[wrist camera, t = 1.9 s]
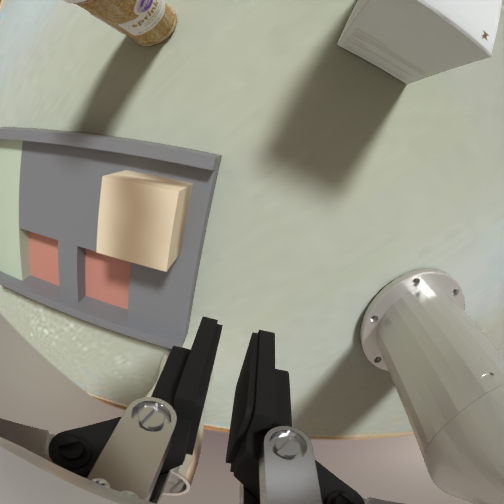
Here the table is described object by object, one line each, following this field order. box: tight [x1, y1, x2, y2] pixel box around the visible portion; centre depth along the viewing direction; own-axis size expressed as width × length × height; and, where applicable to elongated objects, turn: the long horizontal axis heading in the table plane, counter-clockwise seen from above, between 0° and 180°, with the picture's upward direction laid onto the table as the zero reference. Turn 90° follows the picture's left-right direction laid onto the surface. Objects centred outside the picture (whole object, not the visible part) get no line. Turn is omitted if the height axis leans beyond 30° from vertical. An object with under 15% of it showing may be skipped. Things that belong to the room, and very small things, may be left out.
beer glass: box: [145, 351, 213, 495], centre depth 26 cm, size 7×7×15 cm
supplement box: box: [337, 0, 502, 84], centre depth 14 cm, size 7×7×13 cm
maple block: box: [96, 170, 193, 272], centre depth 23 cm, size 6×6×4 cm
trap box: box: [0, 127, 222, 349], centre depth 26 cm, size 26×18×3 cm
